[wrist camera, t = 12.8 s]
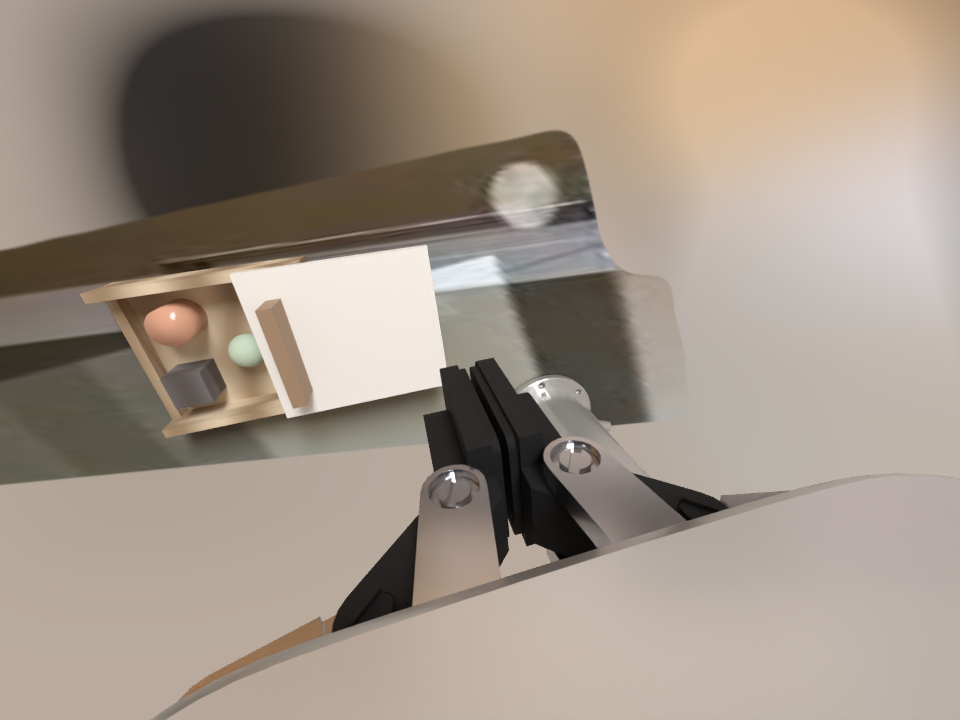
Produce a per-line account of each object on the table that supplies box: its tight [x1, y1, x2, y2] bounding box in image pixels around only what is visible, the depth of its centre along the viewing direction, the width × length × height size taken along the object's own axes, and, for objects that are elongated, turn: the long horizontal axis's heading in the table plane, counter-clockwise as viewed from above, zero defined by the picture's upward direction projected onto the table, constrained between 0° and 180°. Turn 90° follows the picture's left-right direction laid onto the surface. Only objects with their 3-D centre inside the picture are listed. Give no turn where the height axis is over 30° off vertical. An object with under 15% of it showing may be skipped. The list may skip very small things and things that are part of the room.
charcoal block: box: [160, 358, 226, 410], centre depth 35 cm, size 3×3×3 cm
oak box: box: [80, 256, 307, 438], centre depth 35 cm, size 16×14×4 cm
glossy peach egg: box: [144, 299, 208, 347], centre depth 33 cm, size 3×3×3 cm
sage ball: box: [228, 333, 264, 367], centre depth 35 cm, size 3×3×3 cm
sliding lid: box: [229, 245, 446, 418], centre depth 33 cm, size 16×14×4 cm
